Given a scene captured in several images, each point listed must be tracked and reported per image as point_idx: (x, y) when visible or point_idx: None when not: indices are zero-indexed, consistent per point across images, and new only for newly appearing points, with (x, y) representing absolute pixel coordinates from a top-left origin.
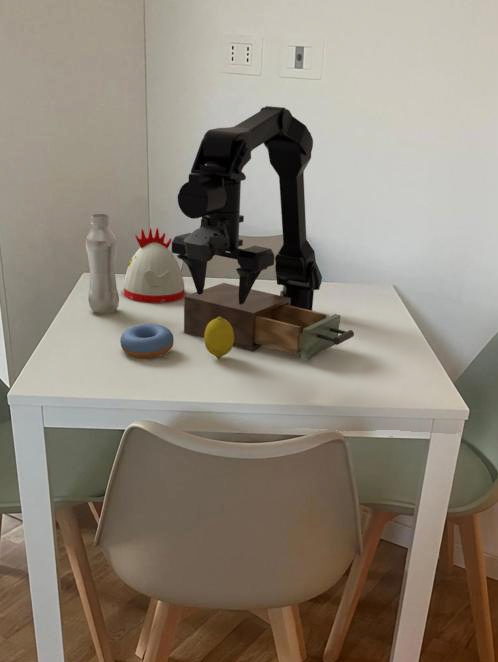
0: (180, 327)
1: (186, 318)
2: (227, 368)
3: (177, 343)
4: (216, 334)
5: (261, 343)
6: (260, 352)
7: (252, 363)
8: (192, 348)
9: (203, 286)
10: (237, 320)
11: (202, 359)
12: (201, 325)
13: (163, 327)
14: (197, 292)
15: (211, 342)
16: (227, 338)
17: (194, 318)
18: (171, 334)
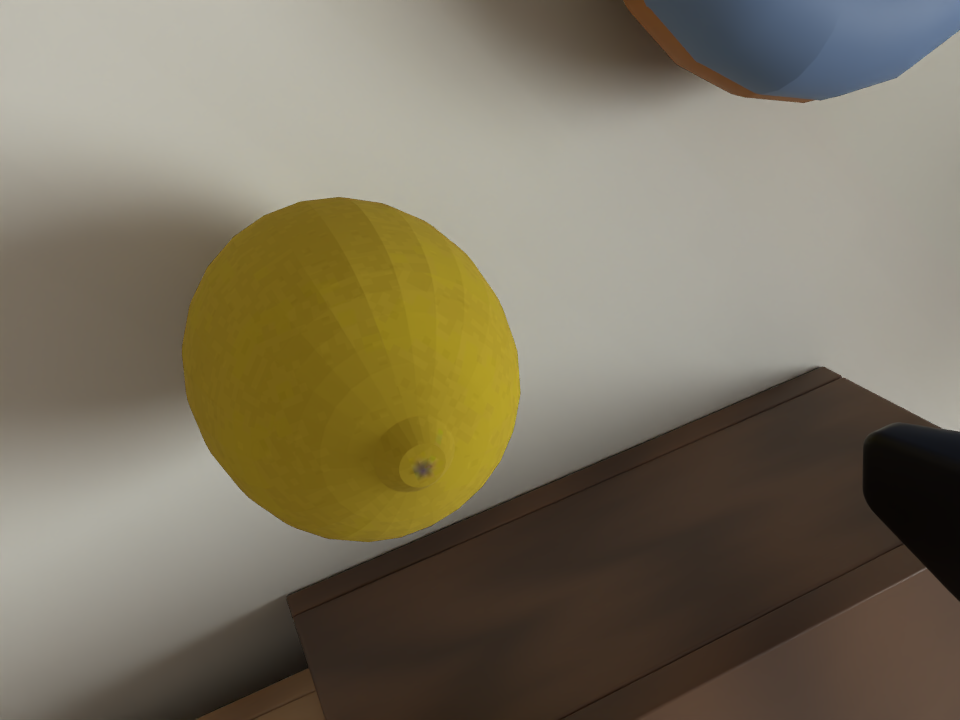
0: (890, 400)
1: (888, 417)
2: (29, 211)
3: (726, 208)
4: (267, 283)
5: (262, 699)
6: (231, 641)
7: (35, 477)
8: (590, 242)
9: (950, 574)
10: (506, 679)
11: (356, 156)
12: (755, 459)
13: (840, 13)
14: (914, 427)
15: (287, 216)
16: (192, 380)
17: (840, 453)
18: (715, 24)
